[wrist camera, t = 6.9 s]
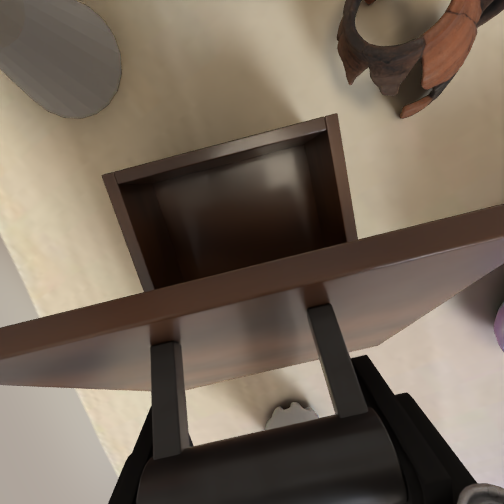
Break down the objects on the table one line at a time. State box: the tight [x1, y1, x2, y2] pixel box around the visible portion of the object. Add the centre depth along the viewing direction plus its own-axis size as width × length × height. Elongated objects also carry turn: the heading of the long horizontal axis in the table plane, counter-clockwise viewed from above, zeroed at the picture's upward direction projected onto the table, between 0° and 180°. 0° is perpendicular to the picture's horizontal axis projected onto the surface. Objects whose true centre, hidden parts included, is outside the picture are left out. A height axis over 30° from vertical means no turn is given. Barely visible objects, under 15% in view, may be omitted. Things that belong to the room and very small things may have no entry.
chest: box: [102, 113, 358, 292], centre depth 23 cm, size 16×15×8 cm
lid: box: [0, 204, 504, 504], centre depth 13 cm, size 16×15×5 cm
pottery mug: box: [337, 0, 504, 118], centre depth 21 cm, size 12×10×8 cm
